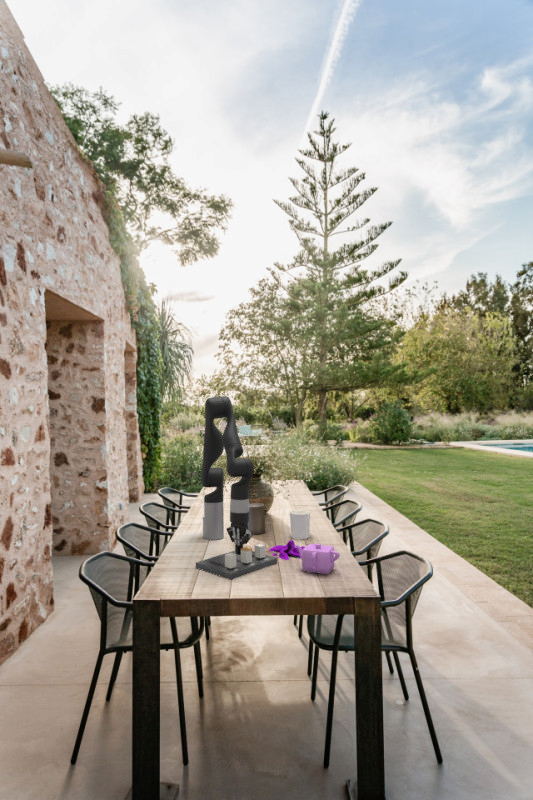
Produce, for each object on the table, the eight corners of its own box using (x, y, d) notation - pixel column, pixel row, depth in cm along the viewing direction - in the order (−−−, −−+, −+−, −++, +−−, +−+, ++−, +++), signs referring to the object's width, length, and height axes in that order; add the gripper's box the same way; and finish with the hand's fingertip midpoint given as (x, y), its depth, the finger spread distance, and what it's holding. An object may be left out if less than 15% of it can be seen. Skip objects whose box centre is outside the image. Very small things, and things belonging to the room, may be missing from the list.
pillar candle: (268, 531, 242) (268, 501, 242) (259, 535, 233) (258, 504, 234) (251, 529, 246) (251, 499, 247) (242, 533, 238) (241, 503, 238)
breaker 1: (225, 566, 180) (224, 554, 180) (230, 564, 182) (230, 552, 182) (230, 568, 178) (230, 556, 178) (236, 566, 180) (236, 554, 180)
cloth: (268, 547, 215) (267, 533, 215) (309, 547, 214) (309, 533, 215) (267, 563, 193) (267, 548, 193) (313, 563, 192) (313, 548, 192)
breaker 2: (254, 556, 192) (254, 545, 192) (260, 555, 194) (260, 543, 194) (260, 558, 190) (260, 546, 190) (265, 556, 192) (265, 545, 192)
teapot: (288, 573, 180) (288, 546, 180) (300, 562, 193) (299, 536, 193) (335, 579, 173) (335, 550, 173) (344, 567, 186) (344, 540, 186)
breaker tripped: (240, 561, 186) (240, 548, 186) (246, 559, 188) (246, 546, 188) (246, 563, 184) (246, 549, 184) (251, 561, 186) (251, 548, 186)
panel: (195, 567, 187) (195, 562, 187) (242, 553, 205) (242, 548, 205) (231, 579, 173) (230, 573, 173) (277, 562, 192) (277, 557, 192)
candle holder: (300, 541, 222) (300, 515, 223) (285, 537, 230) (285, 512, 230) (314, 537, 229) (314, 512, 229) (300, 533, 236) (299, 509, 236)
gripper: (221, 508, 190) (220, 552, 190) (244, 514, 181) (244, 560, 181) (235, 505, 196) (234, 548, 196) (258, 511, 186) (257, 555, 187)
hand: (239, 554), depth 188 cm, fingers closed
